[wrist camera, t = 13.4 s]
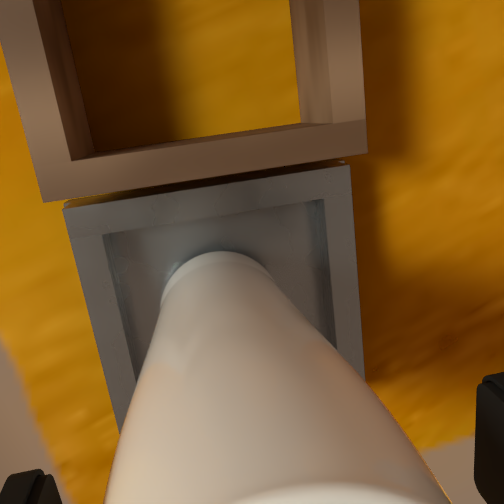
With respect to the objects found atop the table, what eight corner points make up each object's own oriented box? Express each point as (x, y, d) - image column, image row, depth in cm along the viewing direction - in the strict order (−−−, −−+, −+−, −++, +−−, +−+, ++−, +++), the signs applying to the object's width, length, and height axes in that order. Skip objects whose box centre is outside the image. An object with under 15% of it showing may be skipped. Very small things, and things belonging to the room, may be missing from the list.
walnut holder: (-5, -132, 17) (-70, -219, 12) (304, -156, 18) (344, -244, 14) (72, 185, 20) (43, 202, 16) (329, 146, 21) (367, 153, 17)
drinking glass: (279, 374, 23) (448, 801, 8) (137, 365, 22) (55, 848, 7) (304, 240, 21) (566, 491, 7) (151, 222, 20) (81, 483, 6)
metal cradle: (68, 199, 20) (54, 210, 18) (337, 159, 21) (356, 163, 19) (124, 423, 23) (118, 457, 21) (354, 376, 25) (372, 403, 22)
